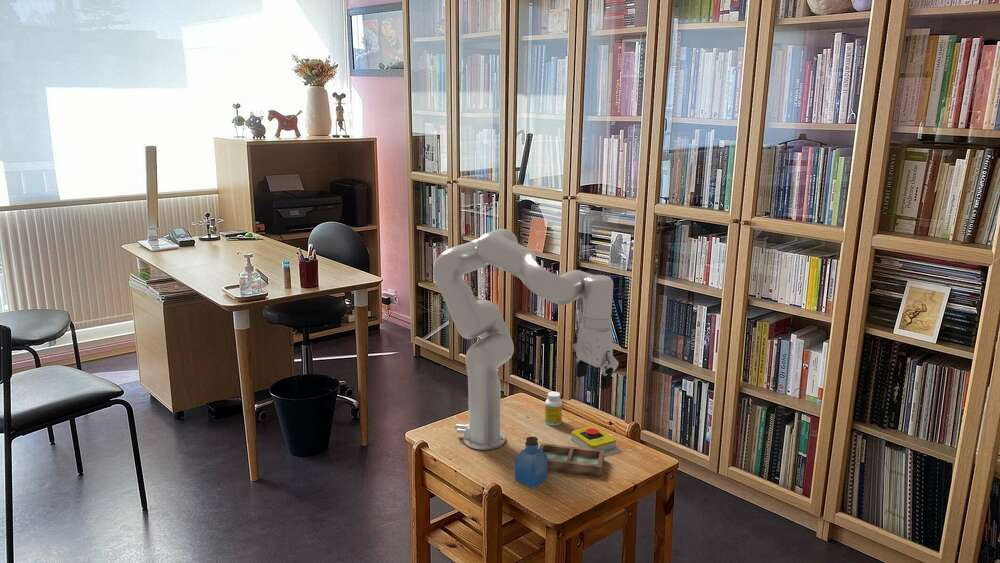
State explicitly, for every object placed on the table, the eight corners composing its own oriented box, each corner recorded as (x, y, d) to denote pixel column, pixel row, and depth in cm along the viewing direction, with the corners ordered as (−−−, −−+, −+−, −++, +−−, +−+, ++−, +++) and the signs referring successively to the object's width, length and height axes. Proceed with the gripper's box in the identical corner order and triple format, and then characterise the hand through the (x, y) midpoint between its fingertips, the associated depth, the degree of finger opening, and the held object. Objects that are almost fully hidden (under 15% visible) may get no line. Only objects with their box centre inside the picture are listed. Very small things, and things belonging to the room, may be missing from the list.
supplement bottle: (544, 425, 228) (545, 397, 225) (544, 418, 233) (545, 390, 230) (561, 426, 227) (562, 397, 225) (561, 418, 233) (562, 390, 230)
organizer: (534, 468, 201) (534, 459, 200) (540, 452, 210) (541, 442, 210) (600, 477, 197) (601, 467, 196) (604, 459, 206) (604, 450, 205)
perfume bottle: (528, 471, 199) (529, 431, 196) (547, 479, 196) (548, 438, 193) (514, 480, 195) (515, 439, 192) (533, 488, 191) (534, 446, 188)
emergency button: (591, 419, 223) (622, 438, 211) (591, 432, 224) (621, 452, 212) (567, 425, 219) (597, 445, 206) (566, 439, 220) (596, 459, 207)
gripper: (565, 315, 196) (562, 374, 200) (608, 333, 182) (604, 396, 186) (586, 311, 200) (583, 369, 204) (629, 328, 186) (625, 390, 190)
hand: (593, 382), depth 195 cm, fingers open, 9 cm apart
